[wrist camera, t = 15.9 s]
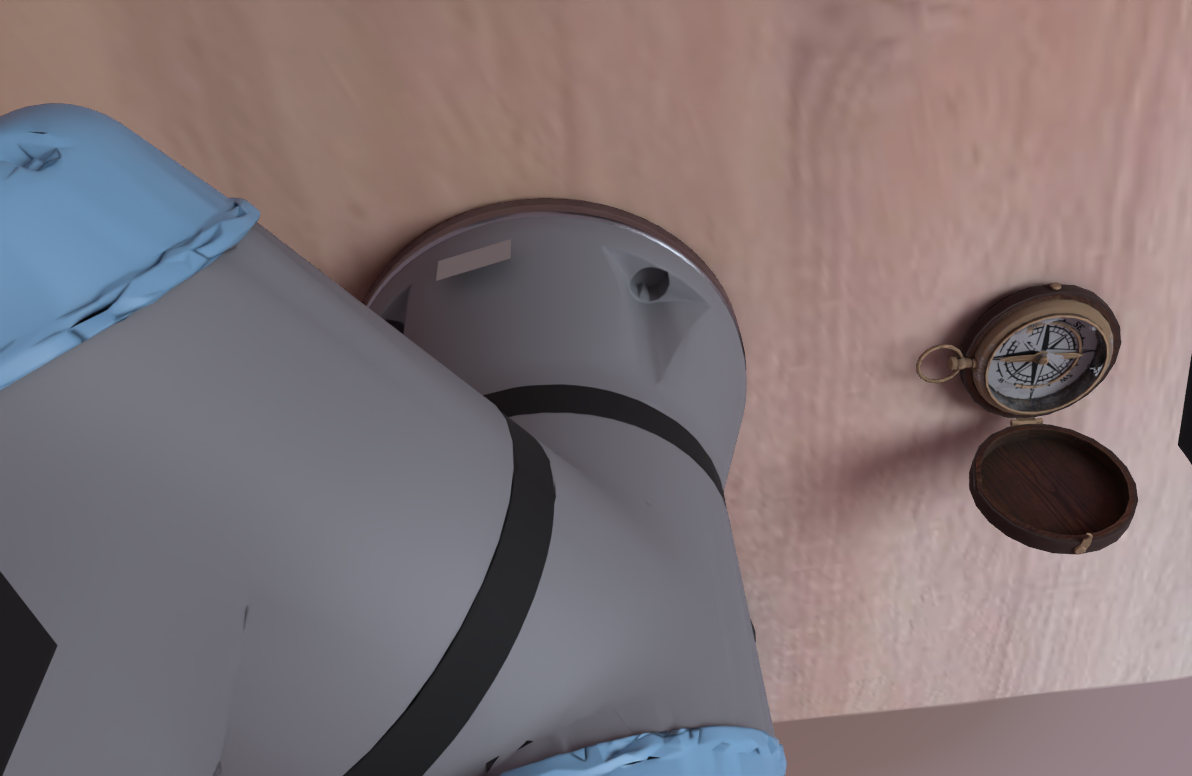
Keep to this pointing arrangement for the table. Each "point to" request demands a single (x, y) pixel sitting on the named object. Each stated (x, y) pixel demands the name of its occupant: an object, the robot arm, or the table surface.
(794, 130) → the table surface
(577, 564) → the robot arm
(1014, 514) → the compass
